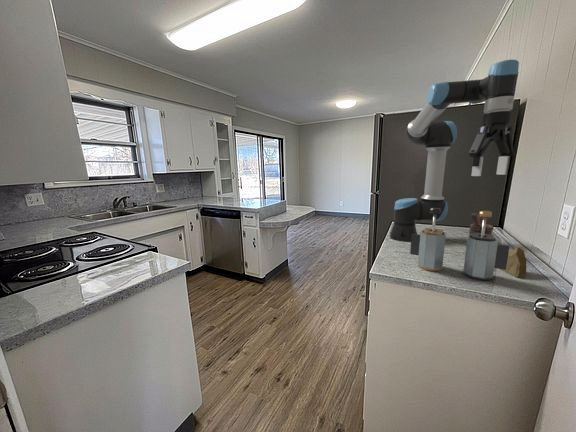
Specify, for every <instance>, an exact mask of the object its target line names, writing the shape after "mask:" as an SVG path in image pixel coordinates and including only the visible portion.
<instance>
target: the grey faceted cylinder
mask: <svg viewBox="0 0 576 432" xmlns="http://www.w3.org/2000/svg"><path fill="white" fill-rule="evenodd" d="M432 234H434V235H432ZM446 237H447V233H446V232H444V230H443V229H437V228H435V231H432V228H430V227H429V228H428V227H425V228H424V229H422V230H421V231H420V233H419V234H418V233H417V234H412V236H411V241H410V250H409V252H410V253H409V254H410V255H413V256H418V260H417V267H418V268H419V269H421V270H423V271H428V272H433V273H434V272H435V273H436V272H442V271H443V266H444V258H445V256H444V255H445V248H446Z"/></svg>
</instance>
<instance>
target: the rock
mask: <svg viewBox="0 0 576 432" xmlns="http://www.w3.org/2000/svg"><path fill="white" fill-rule="evenodd" d="M527 267H528V266H527V258H526V255H525V250H524V249H523V248H521V247H518V246H516V247H515V248H513V249H512V250H511V251H509V254H508V260H507V266H506V270H503V269H500V270H502V271H503V272H505V273H508V274H510V275H513V276H515V277H517V278H521V279H522V278H523V279H524V278H526V274H527Z"/></svg>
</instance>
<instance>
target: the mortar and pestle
mask: <svg viewBox="0 0 576 432" xmlns="http://www.w3.org/2000/svg"><path fill="white" fill-rule="evenodd" d="M470 216H471V220H472V222H473V223H471V224H470V225H469V231H468V232H469V233H468V235H471V234H472V233H478V234H481V230H482V223H481V222H480V219H481V217H479V213H477V212H472V213H471V214H470ZM493 228H494V227H493V225H491V224H487V223H486V227H485V234H487V235H493Z"/></svg>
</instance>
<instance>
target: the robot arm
mask: <svg viewBox="0 0 576 432" xmlns="http://www.w3.org/2000/svg"><path fill="white" fill-rule="evenodd" d="M519 66H520V62H519V61H518V60H517V59H506V60H501V61H498V62H496V63H493V64H491V65H490V67H489V69H488V73H487V76H486V77H484V78H482V79H471V80H469V79H468V80H461V81H460V80H459V81H447V82H446V81H442V82H438V83H433V84H431V86H430V87H429V90H428V93H427V103H426V104H425V105H424V106H423V108H422V109H421V110H420V111H419V113H418V114H417V116H416V117H415V118H414V119H413V120H411V121H410V122H408V125H407V127H406V129H405V135H406V139H407V140H408V141H409V142H410V143H412V145H413V144H414V145H416V146H418V145H419V146H425V150H427V160H426V170H425V171H426V172H425V181H424V192H423V193H424V194H423V195H422V196H421V197H420V200H418V198H416V197H415V198H414V197H412V198H411V197H408V198H407V197H406V198H400V199H398V200H396V201H395V202H394V208H393V209H394V210H393V212H394V213H393V225H392V228H391V231H390V232H389V238H390V239H392V240H396V241H400V242H411V236H412V234H418V231H417V227H416V226H417V225H416V224H417V223H416V222H433V214H430V208H440V209H441V211H440V214H436V222H441V221H443V220H444V219H445V218H446V217H447V214H448V213H449V212H448V211H449V203H448V202H447V201H446V200H445V197H444V196H443V187H444V178H445V169H446V160H447V159H446V158H447V152H448V150H449V149H450V148H451V147H452V146H451V145H453V144H454V143H455V142H456V140H457V137H458V129H457V126H456V124H455V122H453V121H451V120H440V121H436V120H437V119H438V118H439V117H440V116H441V114H442V113H443V112H444V111H445V110H446V109H447V108H448V107H449V106H450V105H451V104H461V103H462V104H464V103H465V104H466V103H469V104H471V105H477V104H482V103H484V106H483V114H484V115H483V116H482V122H481V123H482V124H481V125H482V126H480V127H478V129H477V134H476V136H475V139H474V141H473V143H472V145H471V147H470V149H469V152H468V155H469V157H470V158H472V164H471V165H472V167H471V177H481V176H482V170H483V164H484V156H483V154H484V153H485V152H486V150H487V148H489V146H490V144H491V142H494V143H495V144H496V147H497V149H498V151H499V154H500V156H498V160H497V165H496V166H497V167H496V173H495V175H504V176H505V175H507V171H508V165H509V158H510V157H513V156H514V153H515V150H514V148H515V147H514V143H513V142H514V141H513V137H512V133H513V132H512V131H513V130H512V129H513V128H512V127H510V126H509V127H507V124H510V123H511V122H512V116H513V112H512V110H513V107H514V102H515V94H516V90H517V89H516V88H517V83H518V76H519V73H520V72H519Z"/></svg>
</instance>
